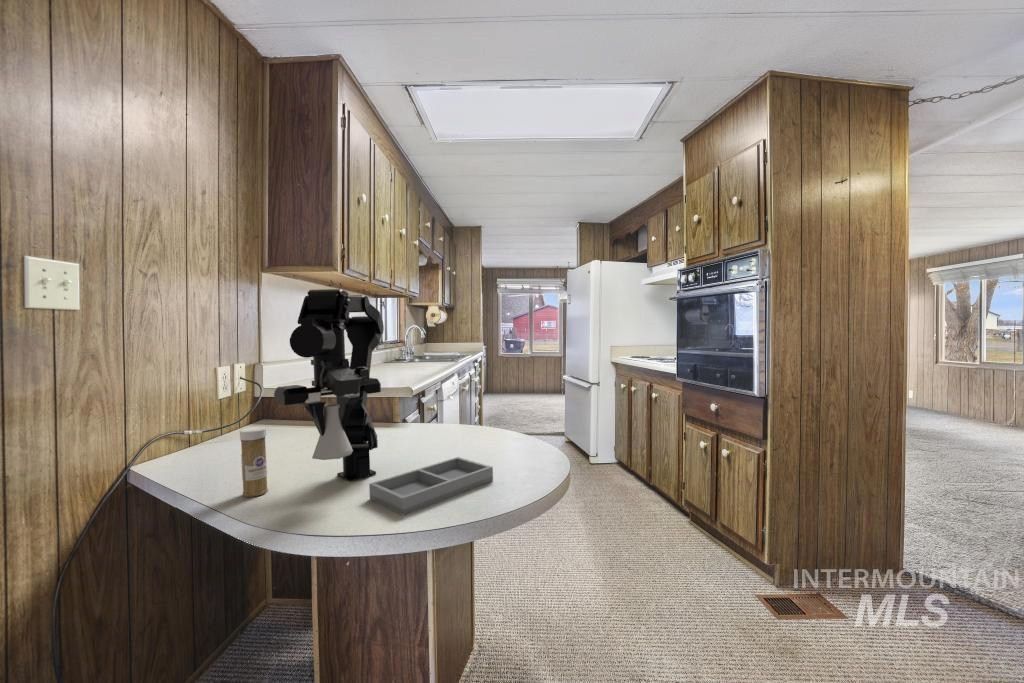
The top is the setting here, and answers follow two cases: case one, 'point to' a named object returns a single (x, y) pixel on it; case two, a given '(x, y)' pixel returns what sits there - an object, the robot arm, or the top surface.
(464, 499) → the top surface
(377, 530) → the top surface
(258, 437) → the sprinkles bottle
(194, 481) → the top surface
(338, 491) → the top surface
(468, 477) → the tray
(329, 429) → the flask
